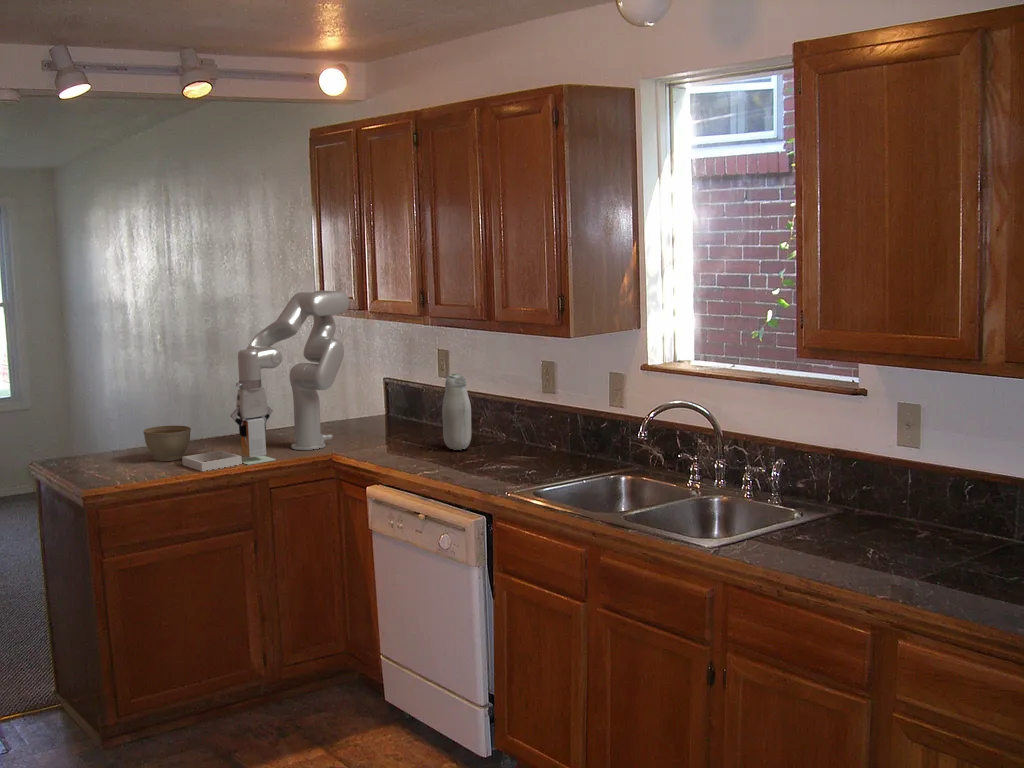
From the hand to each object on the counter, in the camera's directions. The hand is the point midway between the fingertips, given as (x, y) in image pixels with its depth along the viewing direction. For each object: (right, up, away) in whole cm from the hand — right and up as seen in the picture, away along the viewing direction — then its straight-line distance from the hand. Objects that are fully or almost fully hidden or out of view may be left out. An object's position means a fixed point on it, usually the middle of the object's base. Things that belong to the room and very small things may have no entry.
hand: (252, 434), depth 380 cm
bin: (-13, -10, -5) cm, 17 cm away
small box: (0, -7, +1) cm, 7 cm away
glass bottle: (+71, -7, +13) cm, 73 cm away
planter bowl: (-32, -9, +6) cm, 33 cm away
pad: (0, -9, +1) cm, 9 cm away
